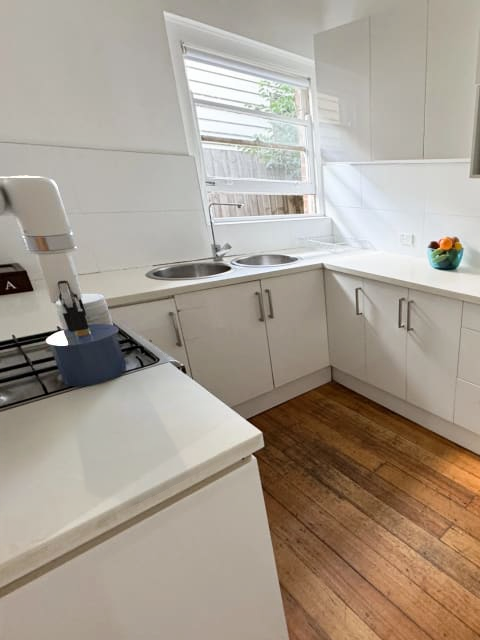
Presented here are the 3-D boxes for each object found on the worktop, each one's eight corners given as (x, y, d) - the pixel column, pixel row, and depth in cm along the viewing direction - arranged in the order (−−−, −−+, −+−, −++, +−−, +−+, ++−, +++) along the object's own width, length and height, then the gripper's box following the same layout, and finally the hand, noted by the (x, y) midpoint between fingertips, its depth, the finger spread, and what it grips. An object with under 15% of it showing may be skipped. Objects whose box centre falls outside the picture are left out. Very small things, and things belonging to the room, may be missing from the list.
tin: (64, 392, 81) (48, 351, 77) (63, 371, 88) (49, 334, 85) (129, 376, 87) (117, 338, 84) (123, 358, 95) (112, 323, 91)
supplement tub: (72, 352, 98) (52, 297, 92) (117, 342, 104) (101, 290, 98) (75, 365, 91) (54, 307, 85) (123, 354, 97) (106, 299, 91)
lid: (46, 355, 76) (34, 325, 74) (48, 336, 85) (37, 308, 82) (122, 340, 84) (113, 312, 81) (116, 324, 92) (108, 298, 90)
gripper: (27, 239, 80) (55, 315, 87) (22, 252, 68) (55, 340, 75) (74, 236, 84) (97, 309, 91) (76, 248, 72) (103, 331, 79)
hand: (78, 323), depth 83 cm, fingers open, 9 cm apart
